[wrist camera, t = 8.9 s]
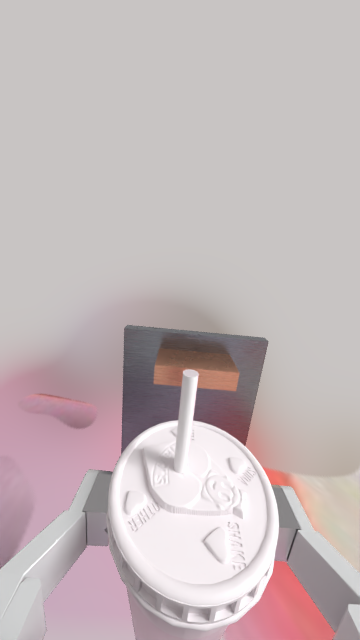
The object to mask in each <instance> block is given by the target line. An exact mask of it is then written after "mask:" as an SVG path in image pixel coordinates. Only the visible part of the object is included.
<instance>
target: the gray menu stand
mask: <svg viewBox="0 0 360 640" xmlns="http://www.w3.org/2000/svg"><path fill="white" fill-rule="evenodd" d="M267 346H268V341H267V340H266V339H265V338H260V337H249V336H240V335H228V334H218V333H207V332H197V331H185V330H175V329H164V328H154V327H143V326H132V325H127V326H126V327H125V329H124V366H123V368H124V369H123V408H122V409H123V410H122V450H121V454H122V453H123V451H124V450H125V449H126V447H127V446H128V445H129V444H130V443H131V442H132V441H133V440H134V439H135V438H136V437H137V436H138V435H140V434H141V433H142V432H144V431H145V430H147V429H149V428H151V427H153V426H155V425H158V424H161V423H164V422H168V421H175V420H178V417H179V407H180V397H181V388H182V378H183V371H184V370H188V369H191V370H195V371H197V372H198V374H199V375H198V383H197V391H196V400H195V408H194V416H193V421H198V422H204V423H207V424H209V425H212V426H215V427H217V428H219V429H221V430H223V431H225V432H227V433H228V434H230V435H231V436H233V437H234V438H236V439H237V440H238V441H239V442H241V443H242V444H243V445H244V446H245V444H246V440H247V436H248V431H249V427H250V422H251V418H252V413H253V409H254V404H255V400H256V395H257V391H258V386H259V382H260V377H261V373H262V368H263V364H264V359H265V354H266V350H267Z"/></svg>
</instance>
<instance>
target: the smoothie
mask: <svg viewBox="0 0 360 640" xmlns="http://www.w3.org/2000/svg"><path fill="white" fill-rule="evenodd" d="M198 375H199V374H198V372H197V371H195V370H191V369H188V370H184V371H183V378H182V388H181V397H180V407H179V417H178V420H175V421H168V422H164V423H161V424H158V425H155V426H153V427H151V428H149V429H147V430H145V431H144V432H142V433H141V434H140V435H138V436H137V437H136V438H135V439H134V440H133V441H132V442H131V443H130V444H129V445H128V446H127V447H126V449H125V450H124V451H123V453H122V454H121V456H120V458H119V460H118V461H117V464H116V466H115V468H114V471H113V474H112V478H111V482H110V488H109V499H108V510H107V518H106V522H107V530H108V538H109V547H110V551H111V554H112V556H113V559H114V561H115V564H116V567H117V569H118V572H119V574H120V577H121V579H122V581H123V582H124V584H125V585H126V587H127V592H128V598H129V604H130V610H131V615H132V621H133V627H134V632H135V638H136V640H220V639H221V637H222V635H223V634H224V632H225V630H226V628H227V626H228V625H229V624H232V623H235V622H237V621H238V620H239V619H240V618H241V617H242V616H243V615H244V614H246V613H247V612H248V611H249V610H250V609H251V608H252V607H253V606H254V605H255V604H256V603H257V602H258V601H259V600H260V598H261V596H262V594H263V592H264V589H265V587H266V585H267V583H268V581H269V579H270V577H271V575H272V572H273V565H274V558H275V551H276V546H277V541H278V533H279V516H278V509H277V503H276V499H275V495H274V492H273V489H272V486H271V484H270V481H269V479H268V477H267V475H266V473H265V472H264V470H263V468H262V467H261V465H260V464H259V462H258V461H257V459H256V458H255V457H254V456H253V454H252V453H251V452H250V451H249V450H248V449H247V448H246V447H245V446H244V445H243V444H242V443H241V442H239V441H238V440H237V439H236V438H234V437H233V436H231V435H230V434H228V433H227V432H225V431H223V430H221V429H219V428H217V427H215V426H212V425H209V424H207V423H204V422H198V421H193V416H194V408H195V400H196V391H197V383H198Z"/></svg>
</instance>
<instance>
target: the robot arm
mask: <svg viewBox="0 0 360 640" xmlns="http://www.w3.org/2000/svg"><path fill="white" fill-rule="evenodd" d="M112 474H113V472H110V471H102V470H91V469H89V470H88V471H87V473H86V474H85V477H84V479H83V481H82V483H81V485H80V487H79V489H78V491H77V493H76V496H75V498H74V499H73V502H72V504H71V506H70V508H69V510H68V511H67V510H65V511H63V512H62V513H61V514H60V515H59V516H58V517H57V518H56V519H55V520H54V521H53V522H51V523H50V524H49V525H48V526H47V527H46V528H45V529H44V530H43V531H41V532H40V533H39V534H38V535H37V536H36V537H35V538H34V539H33V540H32V541H30V542H29V543H28V544H27V545H26V546H25V547H24V548H23V549H22V550H21V551H19V552H18V553H17V554H16V555H15V556H14V557H13V558H12V559H11V560H10V561H8V562H7V563H6V564H5V565H4V566H3V567H2V568H1V569H0V640H43V638H44V636H45V633H46V621H45V613H44V605H43V603H44V602H45V600H46V599H47V598H48V596H49V595H50V594H51V593H52V591H53V590H54V588H55V587H56V586H57V585H58V584H59V582H60V581H61V580H62V578H63V577H64V576H65V574H66V573H67V572H68V571H69V569H70V568H71V567H72V565H73V564H74V563H75V561H76V560H77V559H78V558H79V556H80V555H81V554H82V552H83V551H84V550H85V548H86V546H87V545H92V546H108V545H109V538H108V530H107V522H106V518H107V510H108V499H109V488H110V482H111V478H112ZM271 486H272V489H273V492H274V495H275V499H276V503H277V509H278V516H279V533H278V541H277V546H276V551H275V558H274V560H276V561H285V562H287V564H288V565H289V567H290V568H291V570H292V571H293V573H294V574H295V576H296V577H297V578H298V580H299V581H300V583H301V584H302V586H303V587H304V589H305V590H306V591H307V593H308V594H309V596H310V597H311V599H312V600H313V602H314V603H315V604H316V606H317V607H318V609H319V610H320V612H321V613H322V615H323V616H324V617H325V619H326V620H327V622H328V623H329V625H330V626H331V628H332V629H333V630H334V632H335V634H334V636H333V639H332V640H360V573H359V572H358V571H357V570H356V569H355V568H354V567H353V566H352V565H351V564H350V563H349V562H348V561H347V560H346V559H345V558H344V557H343V556H342V555H341V554H340V553H339V552H338V551H337V550H336V549H335V548H334V547H333V546H332V545H331V544H330V543H329V542H328V541H327V540H326V539H325V538H324V537H323V536H322V535H321V534H320V533H319V532H317V531H314V529H313V527H312V525H311V523H310V521H309V519H308V517H307V515H306V513H305V511H304V509H303V507H302V505H301V503H300V502H299V500H298V498H297V496H296V494H295V492H294V490H293V488H292V487H290V486H279V485H271Z"/></svg>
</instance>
